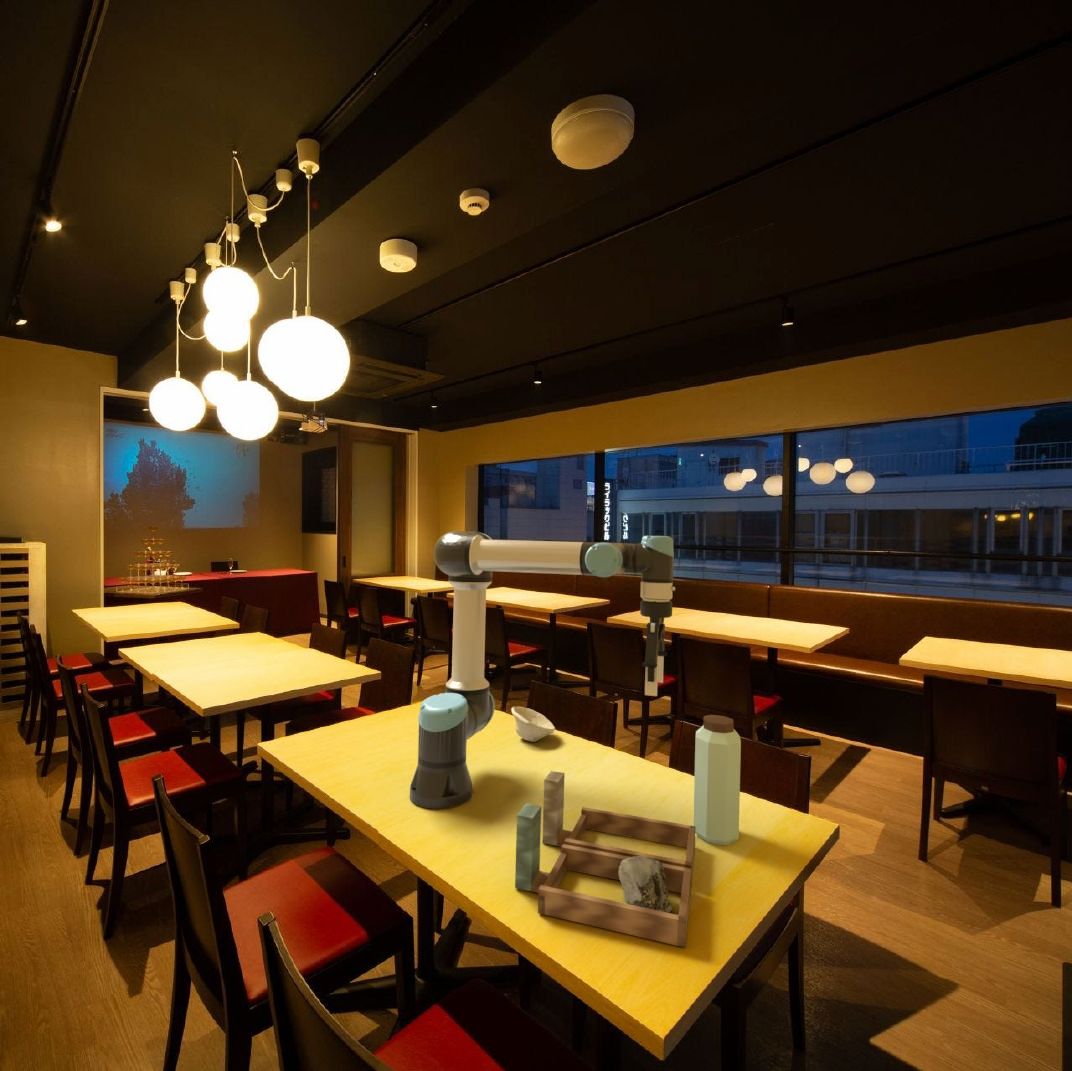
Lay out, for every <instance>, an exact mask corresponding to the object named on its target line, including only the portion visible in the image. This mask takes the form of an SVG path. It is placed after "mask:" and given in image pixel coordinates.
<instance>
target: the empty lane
mask: <svg viewBox="0 0 1072 1071" xmlns="http://www.w3.org/2000/svg"><path fill="white" fill-rule="evenodd" d="M564 800H565V772H559V771H555V770H554V771H553V770H550V772H549V773H548V774H547V775H546V777H544V779H543V809H542V810H543V811H542V812H543V813H542V843H543V844H547V845H552V846H557V847H560V848H561V847H562V845H563V844H566V845H571V846H576V847H582V848H587V849H592V850H597V851H602V852H607V853H613V854H618V855H623V856H628V857H633V856H644V857H648V858H652V859H654V860H658V861H660V863H664V864H669V865H674V866H680V867H685V868H690V869H691V884H692V883H693V871H694V861H695V852H696V851H695V850H696V833H695V829H696V826H693V825H689V824H683V823H678V822H671V821H667V820H661V819H660V820H659V819H653V818H647V817H643V816H637V815H630V814H625V813H619V812H613V811H609V810H608V811H607V810H602V809H601V810H600V809H595V808H590V807H584V806H582V808H581V810H580V811H581V814H580V816H579V818H578V820H577V822H576V824H575V825H574V827H573V828H572V830H569V829H564V808H565V806H564V805H565V803H564V802H565V801H564ZM587 830H591V831H596V832H602V833H607V834H612V835H618V836H623V837H628V838H634V839H639V840H646V841H651V842H656V843H662V844H667V845H673V846H678V847H683V848H684V847H685V848H686V852H685V860H683V859H677V858H672V857H667V856H663V855H657V854H652V853H645V852H642V851H641V852H640V851H635V850H630V849H625V848H620V847H615V846H608V845H604V844H600V843H593V842H589V841H582V839H583V837H584V834H585V833H586V831H587Z"/></svg>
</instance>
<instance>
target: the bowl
mask: <svg viewBox="0 0 1072 1071" xmlns="http://www.w3.org/2000/svg"><path fill="white" fill-rule="evenodd" d="M511 714H512V715H513V718H514V720H515V731H516V733H517V735H518V736H519V737H521V738H522V739H523V740H525V741H528V742H537V741H539V740H540V739H543V738H544V737H546V736H548V735H550V734H553V733H554V732H555V731H556V728H555V726H554V724H553V723H552V722H551V721H550V720H549V719H548V718H547V717H546V716H545V715H543V714H541V713H540V712H537V711H536V710H534V709H531V708H527V707H524V706H519V705H518V706H512V707H511Z"/></svg>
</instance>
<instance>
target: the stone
mask: <svg viewBox="0 0 1072 1071" xmlns="http://www.w3.org/2000/svg"><path fill="white" fill-rule="evenodd" d="M618 874H619V880H618V881H620V883H621V887H622V891H623V896H624V901H625V903H626V904H630V905H635V906H639V907H644V908H648V909H653V910H657V911H662V912H666V913H671V914H674V911H673V907H672V904H671V901H670V899H669V896H670V895H669V891H668V890H667V887H666V881H665V875H664V869H663V866H662V863H660V861H658V860H654V859H652V858H648V857H644V856H633V857H631V858H627V859H625V860H622V862H621V865H620V866H619V871H618Z"/></svg>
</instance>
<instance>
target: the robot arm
mask: <svg viewBox="0 0 1072 1071" xmlns="http://www.w3.org/2000/svg"><path fill="white" fill-rule="evenodd" d="M433 559H434V562H435V565H436V566H437V568H438V569H439V570H440V571H441V573H442V572H443V574H445V575H448V583H449V585H451V586H452V587H453V614H452V615H453V618H452V621H453V622H452V651H451V652H452V653H451V654H452V656H451V658H452V659H451V665H452V666H451V677H450V678H449V680H447V682H445V692H444V693H439V694H434V695H431V696H429V697H427V698H425V699H424V700H422V702H421V704H420V708H419V714H418V717H417V718H418V745H417V746H418V749H417V750H418V751H417V756H418V757H417V766H416V769H415V771H414V774H413V777H412V780H411V783H410V787H409V799H410V801H411V802H412V803H413V804H415V805H416V806H419V807H422V808H426V809H434V810H435V809H437V810H438V809H439V810H440V809H443V810H444V809H449V808H455V807H459V806H461V805H464V804H465V803H467V802H468V801H469V800H470V799H471V798H472V797H473V781H472V779H471V775H470V771H469V767H468V764H467V741H468V740H469V739H470V738H472V737H473V736H475V735H476V734H478V733H479V732H481V731H482V730H484V729H485V727H487V726H488V724H489V723H490V722H491V720H492V719H493V716H494V714H495V710H496V708H495V706H496V703H495V699H494V696H493V694H491V692H490V682H489V681H488V680H487V679H486V678H485V654H486V653H485V650H486V649H485V648H486V646H485V645H486V614H487V613H486V612H487V610H486V609H487V589H488V587H489V586H490V585H492V583H493V572H502V573H503V572H506V573H507V572H508V573H509V572H510V573H531V574H553V575H554V574H555V575H557V574H559V575H577V576H579V575H581V576H593V577H594V576H595V577H599V578H610V577H612V576H614V575H618V574H619V575H620V574H621V575H624V574H625V575H640V580H641V581H640V594H639V595H640V598H641V599H642V600H641V601H640V605H639V606H640V608H639V609H640V610H639V611H640V615H641V616H642V617H647V618H649V622H647V624H646V641H645V643H646V644H645V656H644V662H642V664H641V665H642V667H645V670H644V671H645V674H644V676H645V677H644V679H645V680H644V696H651V697H657V696H658V683H661V684H663V683H664V661H665V659H664V658H665V656H666V657H667V653H668V652H667V651H666V648H665V629H666V624H665V622H664V621H665V619H667V618H671V617H672V616H673V602H672V601H671V600H672V599H673V592H674V591H676V587H675V586H673V582H674V580H673V579H674V560H675V554H674V540H673V538H672V537H671V536H666V535H644V536H642V537H641V541H640V542H639V543H626V542H623V543H622V542H608V541H607V542H605V541H603V542H602V541H601V542H590V541H589V542H587V541H586V542H584V541H556V540H555V541H552V540H551V541H548V540H547V541H546V540H519V539H518V540H515V539H514V540H512V539H492V537H490V535H487V534H485V533H483V532H480V531H475V530H473V531H465V530H464V531H461V530H452V531H449V532H447V533H444V535H442V536H440V537H439V539H438V540H437V541H436V543H435V546H434V548H433Z"/></svg>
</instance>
